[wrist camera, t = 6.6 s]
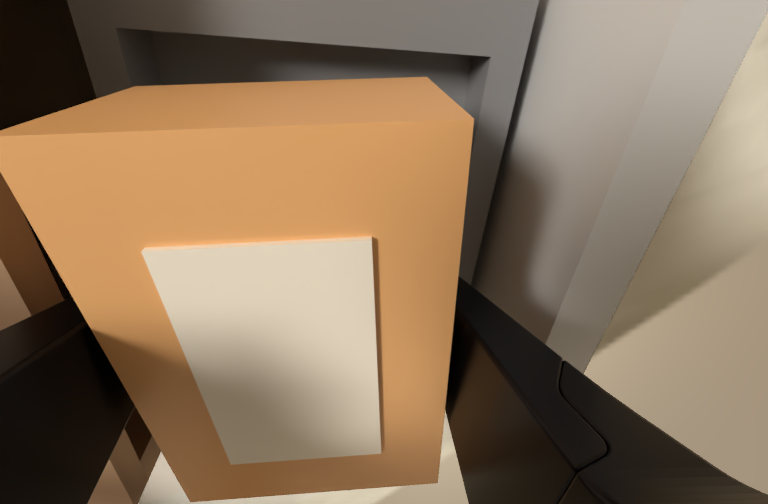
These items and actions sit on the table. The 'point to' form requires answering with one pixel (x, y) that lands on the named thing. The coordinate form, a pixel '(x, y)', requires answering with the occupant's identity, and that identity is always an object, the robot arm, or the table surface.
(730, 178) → the table surface
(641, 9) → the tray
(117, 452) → the box
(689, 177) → the table surface
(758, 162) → the table surface
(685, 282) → the table surface
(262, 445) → the orange rectangular block
